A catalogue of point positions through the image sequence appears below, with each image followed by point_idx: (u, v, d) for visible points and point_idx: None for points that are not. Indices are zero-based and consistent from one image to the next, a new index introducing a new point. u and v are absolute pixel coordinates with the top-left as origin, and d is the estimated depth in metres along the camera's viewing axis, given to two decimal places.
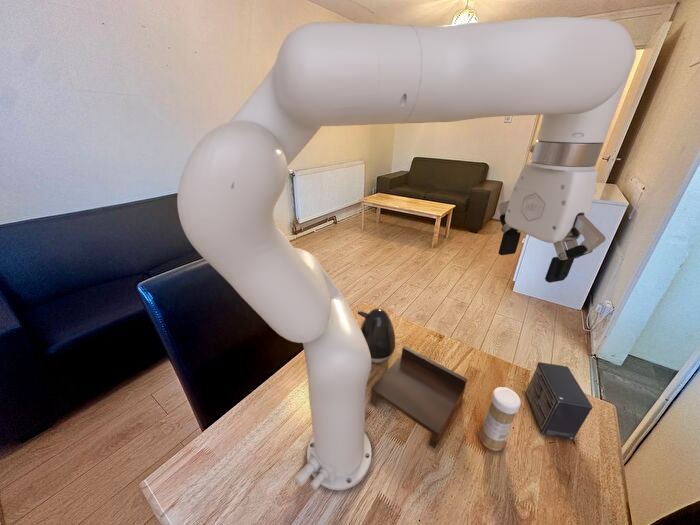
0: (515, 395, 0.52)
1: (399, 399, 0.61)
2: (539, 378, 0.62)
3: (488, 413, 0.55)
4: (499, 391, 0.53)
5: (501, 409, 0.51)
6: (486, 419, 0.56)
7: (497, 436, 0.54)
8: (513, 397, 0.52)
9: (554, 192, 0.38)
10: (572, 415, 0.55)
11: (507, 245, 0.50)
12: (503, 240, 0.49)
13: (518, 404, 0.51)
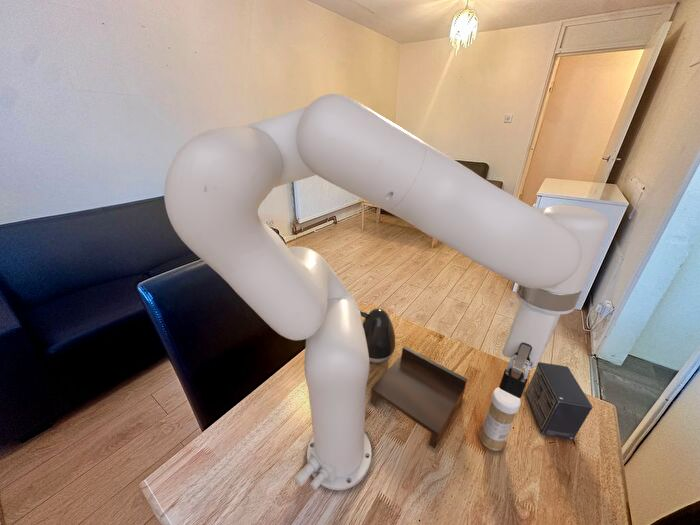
0: None
1: (399, 399, 0.61)
2: (539, 378, 0.62)
3: (488, 413, 0.55)
4: (499, 391, 0.53)
5: (501, 409, 0.51)
6: (486, 419, 0.56)
7: (497, 436, 0.54)
8: (513, 397, 0.52)
9: None
10: (572, 415, 0.55)
11: None
12: None
13: (518, 404, 0.51)
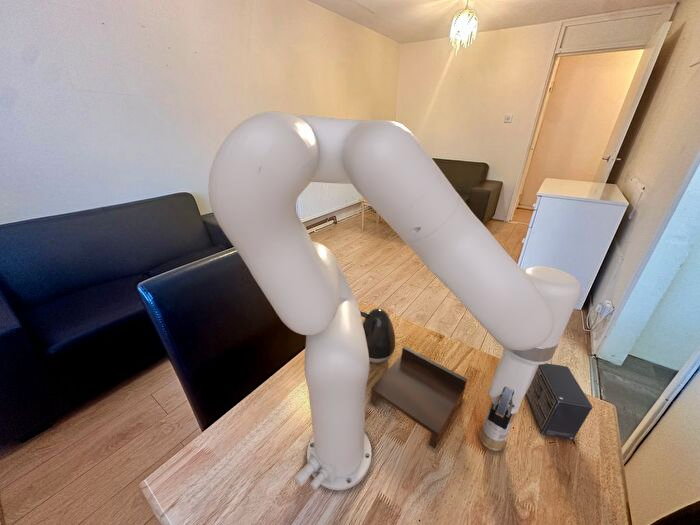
0: None
1: (399, 399, 0.61)
2: (539, 378, 0.62)
3: (488, 413, 0.55)
4: None
5: None
6: (486, 419, 0.56)
7: (497, 436, 0.54)
8: None
9: (499, 360, 0.48)
10: (572, 415, 0.55)
11: None
12: None
13: None
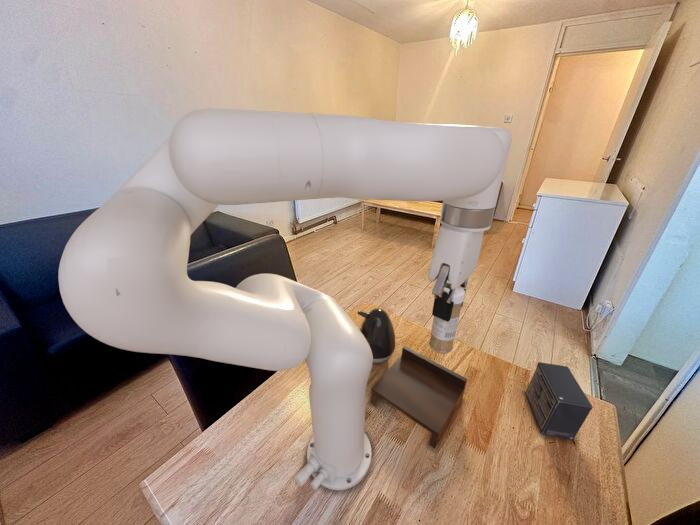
0: (460, 288, 0.50)
1: (399, 399, 0.61)
2: (539, 378, 0.62)
3: None
4: None
5: None
6: (433, 319, 0.54)
7: (443, 335, 0.52)
8: (458, 289, 0.50)
9: None
10: (571, 415, 0.55)
11: None
12: None
13: (461, 294, 0.49)
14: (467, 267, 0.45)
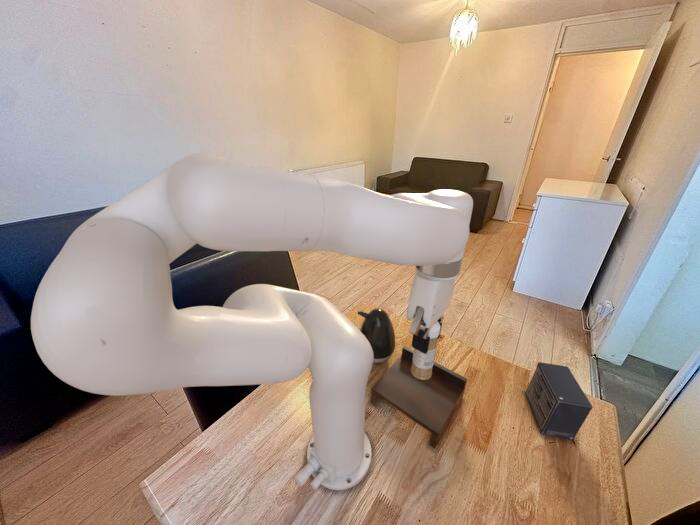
0: (436, 323, 0.56)
1: (399, 399, 0.61)
2: (539, 378, 0.62)
3: None
4: None
5: None
6: None
7: (422, 364, 0.58)
8: (434, 324, 0.55)
9: None
10: (572, 415, 0.55)
11: None
12: None
13: (437, 329, 0.54)
14: (440, 308, 0.50)
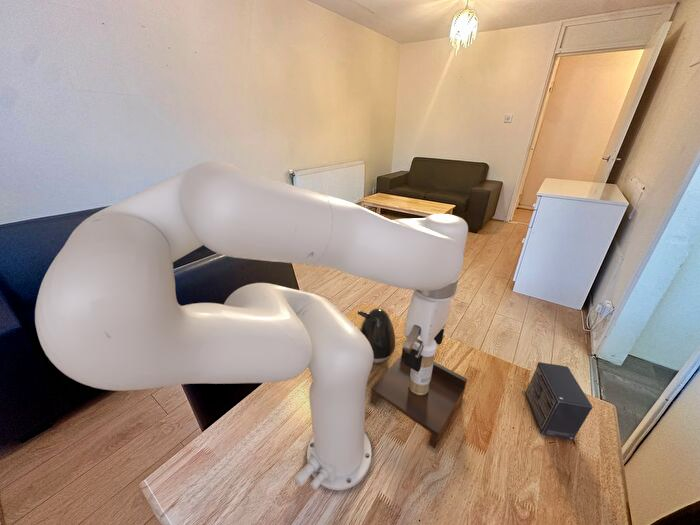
0: (433, 341, 0.58)
1: (399, 399, 0.61)
2: (539, 378, 0.62)
3: None
4: (419, 338, 0.59)
5: None
6: None
7: (419, 380, 0.60)
8: (430, 342, 0.57)
9: None
10: (571, 415, 0.55)
11: None
12: None
13: (433, 348, 0.56)
14: (436, 327, 0.52)
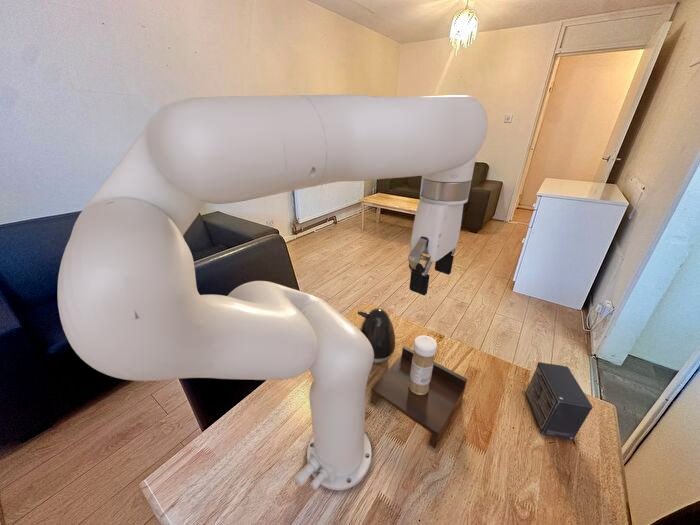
0: (433, 341, 0.58)
1: (399, 399, 0.61)
2: (539, 378, 0.62)
3: (412, 360, 0.60)
4: (420, 338, 0.59)
5: (419, 353, 0.57)
6: (411, 366, 0.61)
7: (419, 380, 0.60)
8: (431, 342, 0.57)
9: None
10: (572, 415, 0.55)
11: (439, 263, 0.56)
12: None
13: (433, 348, 0.56)
14: (446, 241, 0.46)
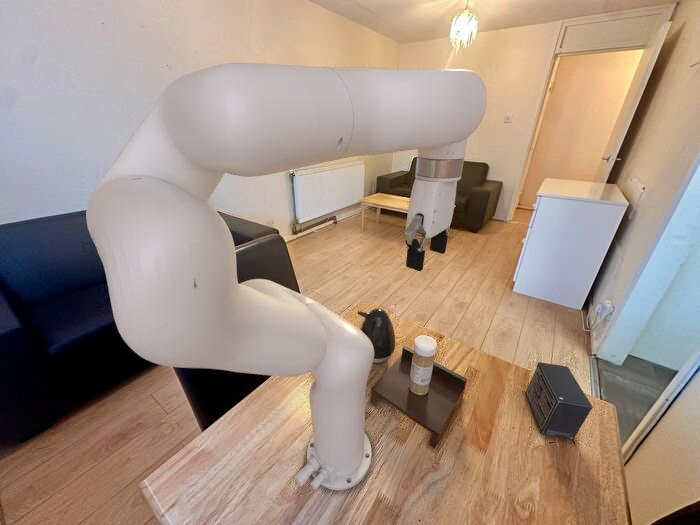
0: (433, 341, 0.58)
1: (399, 399, 0.61)
2: (539, 378, 0.62)
3: (412, 360, 0.60)
4: (419, 338, 0.59)
5: (419, 352, 0.57)
6: (411, 366, 0.61)
7: (419, 380, 0.60)
8: (431, 342, 0.57)
9: None
10: (572, 415, 0.55)
11: (434, 242, 0.58)
12: (431, 237, 0.58)
13: (433, 347, 0.56)
14: (440, 217, 0.49)
